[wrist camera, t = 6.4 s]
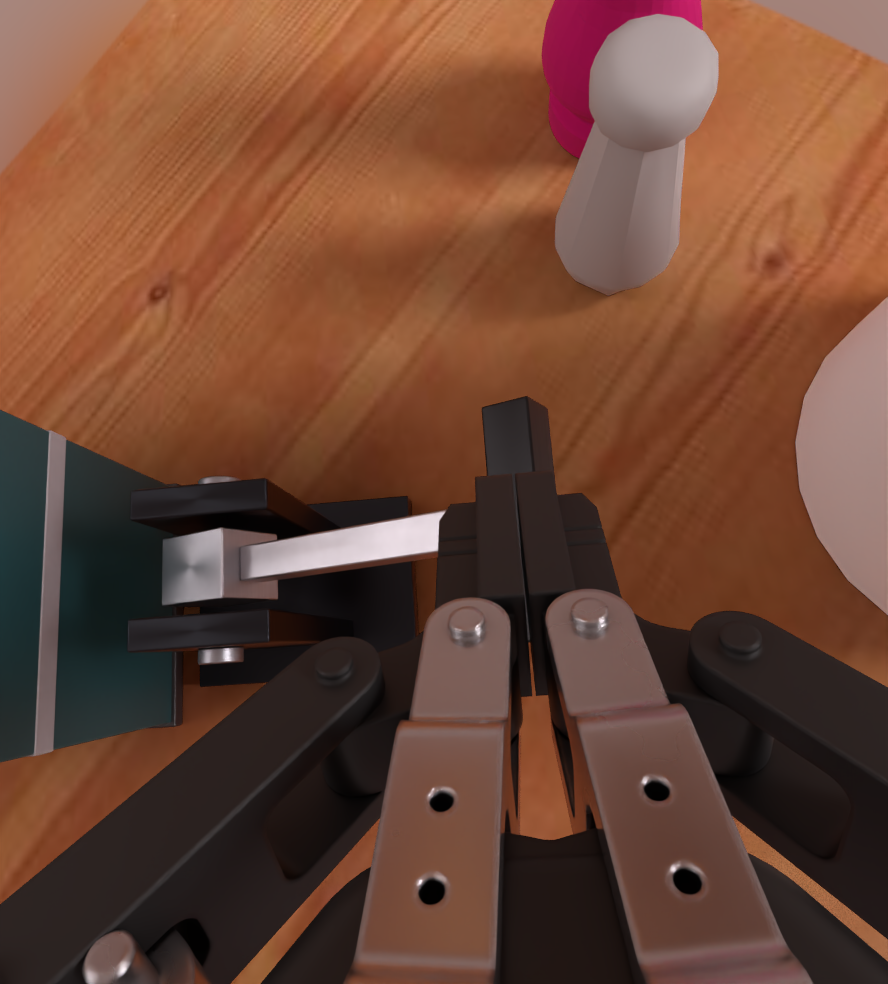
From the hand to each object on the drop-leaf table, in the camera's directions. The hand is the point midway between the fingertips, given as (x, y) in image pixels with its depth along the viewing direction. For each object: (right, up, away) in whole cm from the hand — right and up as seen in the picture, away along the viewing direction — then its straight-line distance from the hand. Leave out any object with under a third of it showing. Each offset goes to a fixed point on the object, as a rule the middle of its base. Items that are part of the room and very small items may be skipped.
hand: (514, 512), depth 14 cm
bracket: (-8, -4, +20) cm, 22 cm away
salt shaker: (+7, +12, +22) cm, 26 cm away
